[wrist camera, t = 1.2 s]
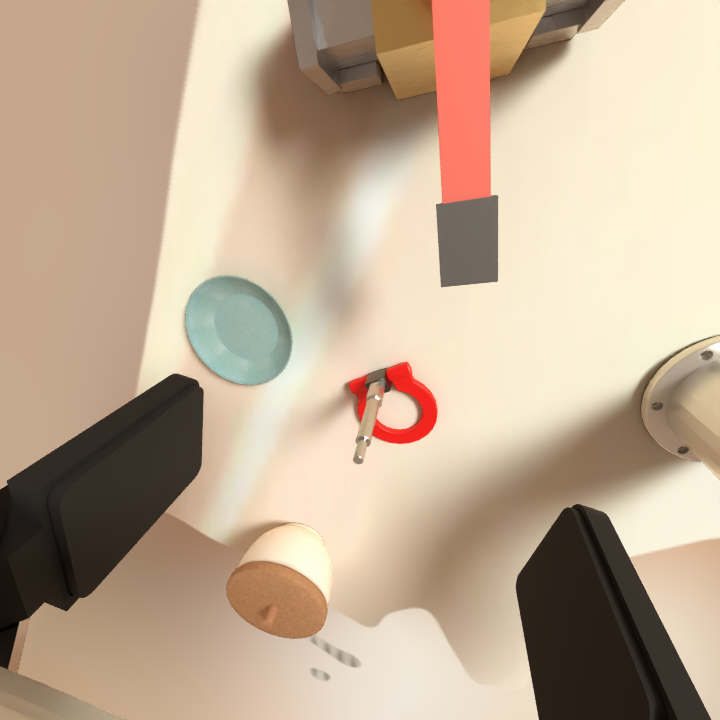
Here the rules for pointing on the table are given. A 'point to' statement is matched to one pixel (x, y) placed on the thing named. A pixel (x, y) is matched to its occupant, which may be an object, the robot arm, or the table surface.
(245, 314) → the saucer
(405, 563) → the table surface
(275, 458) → the table surface
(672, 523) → the table surface
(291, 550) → the lidded bowl
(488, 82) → the lever
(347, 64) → the valve body
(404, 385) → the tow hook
